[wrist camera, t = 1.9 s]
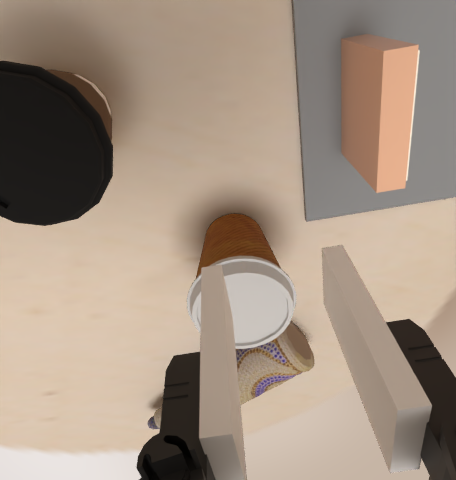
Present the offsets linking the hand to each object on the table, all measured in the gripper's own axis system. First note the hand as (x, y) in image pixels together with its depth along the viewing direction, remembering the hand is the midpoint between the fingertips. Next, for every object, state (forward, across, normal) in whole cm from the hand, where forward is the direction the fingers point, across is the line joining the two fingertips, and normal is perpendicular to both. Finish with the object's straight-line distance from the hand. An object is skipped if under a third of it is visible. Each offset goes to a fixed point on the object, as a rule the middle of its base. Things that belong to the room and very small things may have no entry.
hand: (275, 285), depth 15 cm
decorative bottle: (+25, -7, -32) cm, 42 cm away
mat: (+25, +15, 0) cm, 29 cm away
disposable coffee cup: (+25, -2, -13) cm, 28 cm away
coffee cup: (+25, -14, +3) cm, 29 cm away
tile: (+24, +11, 0) cm, 26 cm away
